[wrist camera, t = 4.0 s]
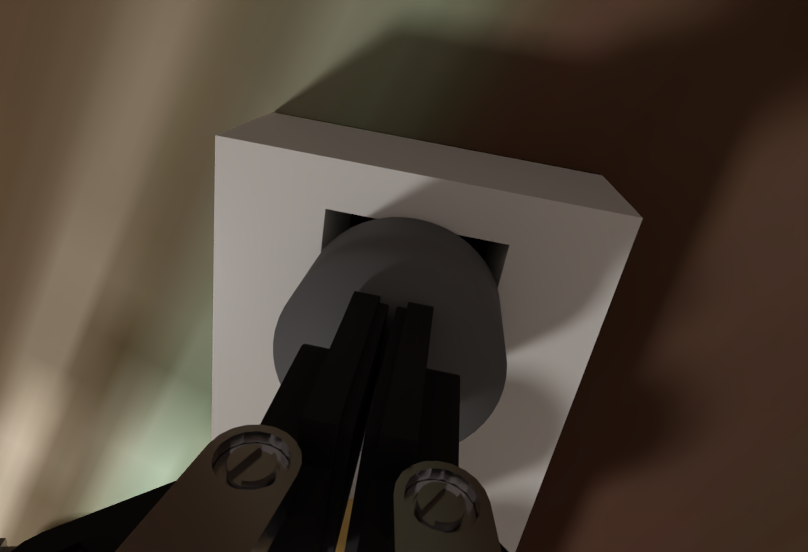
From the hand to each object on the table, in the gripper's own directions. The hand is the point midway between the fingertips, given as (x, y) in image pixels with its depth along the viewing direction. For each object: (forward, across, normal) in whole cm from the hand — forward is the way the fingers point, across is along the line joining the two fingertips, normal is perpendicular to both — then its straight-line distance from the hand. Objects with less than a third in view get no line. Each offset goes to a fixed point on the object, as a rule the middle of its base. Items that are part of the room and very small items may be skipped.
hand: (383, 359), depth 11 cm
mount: (+7, 0, +6) cm, 9 cm away
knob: (+6, 0, 0) cm, 6 cm away
